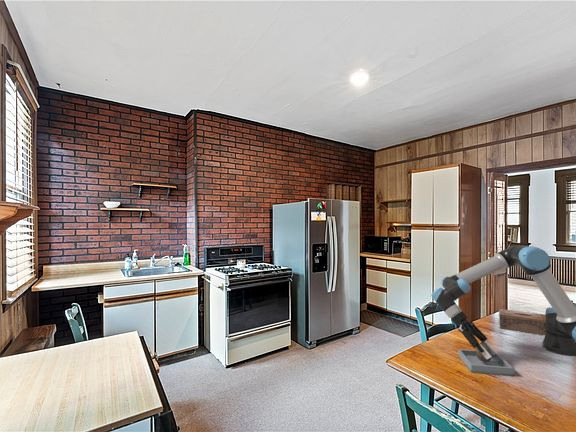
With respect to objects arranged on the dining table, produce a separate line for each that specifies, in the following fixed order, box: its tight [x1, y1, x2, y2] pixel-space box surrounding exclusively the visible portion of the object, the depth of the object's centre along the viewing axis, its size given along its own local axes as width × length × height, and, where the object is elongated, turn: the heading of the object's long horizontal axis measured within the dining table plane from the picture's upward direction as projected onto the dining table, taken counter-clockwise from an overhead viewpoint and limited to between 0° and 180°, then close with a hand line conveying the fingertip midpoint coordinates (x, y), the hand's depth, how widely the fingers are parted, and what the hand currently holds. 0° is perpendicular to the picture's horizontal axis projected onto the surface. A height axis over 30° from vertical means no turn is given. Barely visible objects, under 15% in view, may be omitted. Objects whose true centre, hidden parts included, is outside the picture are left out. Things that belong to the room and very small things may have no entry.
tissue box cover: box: [498, 308, 546, 336], centre depth 196 cm, size 26×14×10 cm, turn 56°
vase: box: [475, 341, 492, 362], centre depth 148 cm, size 7×7×9 cm
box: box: [457, 348, 515, 377], centre depth 148 cm, size 18×18×4 cm
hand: (491, 355), depth 146 cm, fingers closed on vase, 6 cm apart
